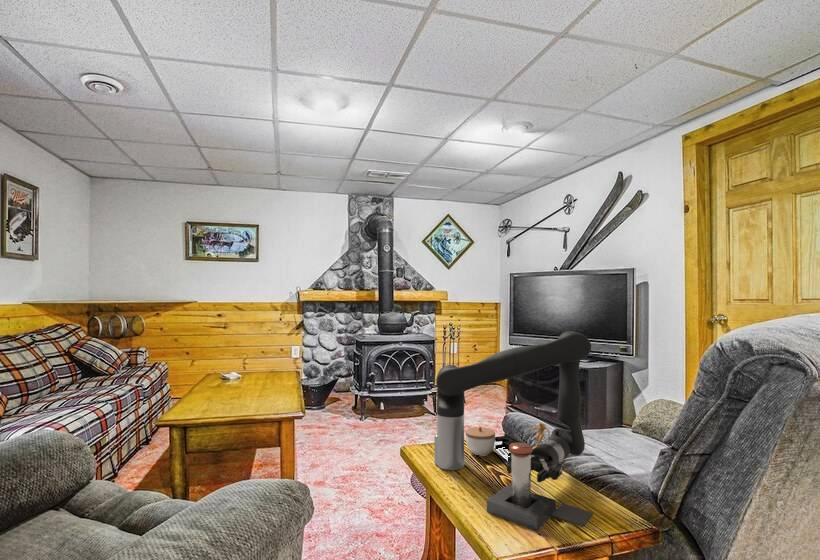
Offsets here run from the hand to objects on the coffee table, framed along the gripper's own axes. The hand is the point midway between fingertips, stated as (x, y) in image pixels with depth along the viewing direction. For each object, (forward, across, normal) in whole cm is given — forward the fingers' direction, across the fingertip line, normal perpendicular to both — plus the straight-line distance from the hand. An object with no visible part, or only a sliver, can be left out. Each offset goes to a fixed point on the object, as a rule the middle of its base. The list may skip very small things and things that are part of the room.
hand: (523, 474), depth 115 cm
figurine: (-38, -12, +10) cm, 41 cm away
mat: (-6, +11, +10) cm, 16 cm away
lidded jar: (-28, -30, +10) cm, 42 cm away
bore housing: (+1, 0, +10) cm, 10 cm away
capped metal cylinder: (+1, 0, +10) cm, 10 cm away
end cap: (-32, -20, +10) cm, 39 cm away
